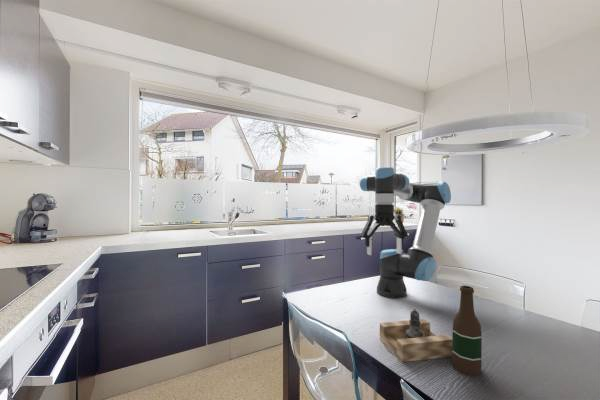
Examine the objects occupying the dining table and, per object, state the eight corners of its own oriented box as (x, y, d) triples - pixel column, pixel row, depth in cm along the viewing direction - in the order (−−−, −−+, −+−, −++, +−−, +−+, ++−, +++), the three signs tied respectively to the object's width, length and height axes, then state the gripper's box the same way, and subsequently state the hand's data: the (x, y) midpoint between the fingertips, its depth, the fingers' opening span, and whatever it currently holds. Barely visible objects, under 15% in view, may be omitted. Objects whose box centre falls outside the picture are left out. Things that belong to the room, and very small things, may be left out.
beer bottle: (487, 370, 78) (487, 288, 77) (475, 380, 73) (475, 293, 73) (458, 357, 84) (459, 281, 84) (446, 365, 79) (446, 285, 79)
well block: (424, 333, 98) (424, 319, 98) (454, 356, 84) (454, 339, 84) (379, 338, 95) (379, 322, 95) (402, 362, 81) (402, 344, 81)
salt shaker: (401, 341, 91) (401, 306, 91) (414, 337, 93) (414, 303, 93) (414, 350, 86) (414, 313, 86) (428, 346, 88) (428, 310, 88)
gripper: (406, 203, 118) (406, 251, 118) (353, 203, 114) (353, 253, 114) (416, 203, 111) (416, 254, 111) (360, 204, 106) (360, 256, 106)
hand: (384, 254), depth 112 cm, fingers open, 13 cm apart
